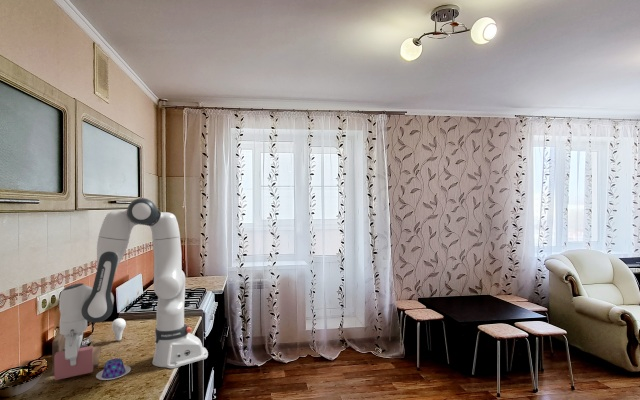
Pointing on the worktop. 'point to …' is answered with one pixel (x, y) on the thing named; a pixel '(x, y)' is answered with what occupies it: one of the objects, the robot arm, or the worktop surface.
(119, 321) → the lightbulb
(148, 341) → the worktop surface
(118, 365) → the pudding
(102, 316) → the robot arm
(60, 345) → the shelf stand
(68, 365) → the book
